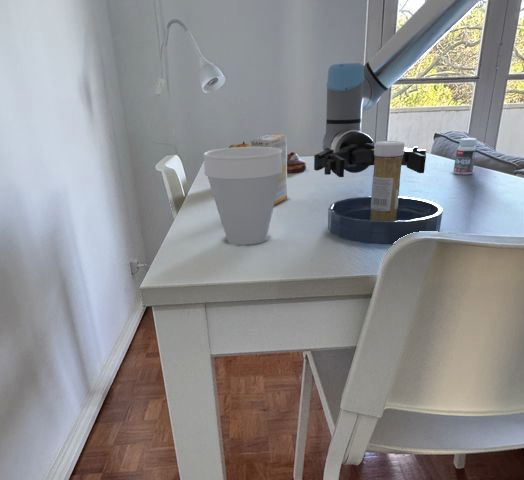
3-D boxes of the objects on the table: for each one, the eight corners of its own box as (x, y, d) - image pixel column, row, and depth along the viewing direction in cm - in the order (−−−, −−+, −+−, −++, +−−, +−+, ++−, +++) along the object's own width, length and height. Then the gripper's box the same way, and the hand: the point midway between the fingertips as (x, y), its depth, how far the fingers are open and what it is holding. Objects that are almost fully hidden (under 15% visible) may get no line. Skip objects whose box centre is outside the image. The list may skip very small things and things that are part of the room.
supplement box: (268, 197, 107) (266, 134, 100) (288, 198, 105) (287, 134, 99) (252, 205, 101) (248, 138, 94) (272, 207, 99) (270, 139, 92)
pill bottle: (450, 174, 124) (456, 139, 120) (455, 171, 128) (461, 137, 123) (469, 175, 122) (475, 140, 118) (474, 172, 125) (480, 138, 121)
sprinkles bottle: (401, 228, 79) (411, 141, 72) (382, 233, 77) (391, 144, 70) (381, 223, 82) (388, 139, 76) (362, 227, 80) (368, 142, 74)
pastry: (290, 168, 143) (289, 150, 140) (311, 169, 139) (312, 151, 136) (275, 172, 137) (275, 153, 134) (298, 173, 133) (298, 154, 131)
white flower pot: (288, 247, 74) (287, 154, 67) (210, 252, 73) (201, 158, 67) (279, 227, 85) (277, 145, 78) (211, 230, 84) (203, 148, 77)
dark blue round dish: (416, 215, 88) (418, 193, 86) (457, 244, 72) (461, 218, 70) (319, 220, 88) (320, 198, 86) (340, 250, 72) (341, 224, 70)
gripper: (410, 167, 99) (452, 186, 80) (292, 173, 98) (307, 193, 79) (414, 128, 95) (460, 138, 77) (292, 133, 94) (308, 145, 75)
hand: (382, 166), depth 78 cm, fingers open, 13 cm apart
